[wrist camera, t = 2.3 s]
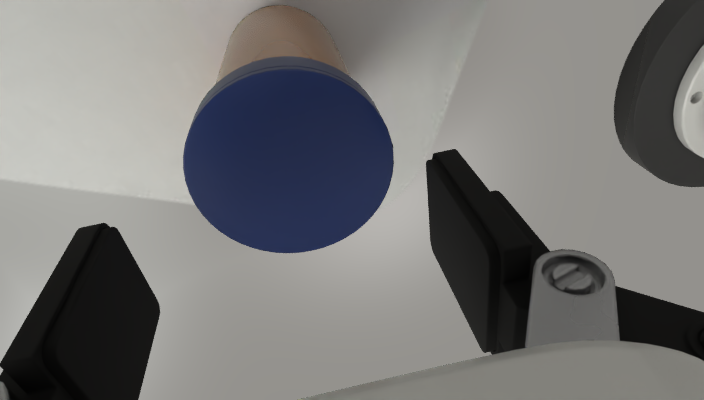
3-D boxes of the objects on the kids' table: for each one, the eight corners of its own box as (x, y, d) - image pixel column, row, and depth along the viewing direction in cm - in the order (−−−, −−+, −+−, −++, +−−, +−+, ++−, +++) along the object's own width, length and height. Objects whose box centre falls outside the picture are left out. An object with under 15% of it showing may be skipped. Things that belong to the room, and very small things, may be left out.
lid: (375, 36, 14) (385, 48, 13) (394, 210, 18) (403, 231, 16) (158, 78, 13) (147, 94, 12) (224, 245, 17) (221, 270, 16)
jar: (327, -5, 23) (370, 58, 13) (345, 105, 26) (389, 220, 16) (210, 16, 23) (166, 97, 13) (243, 125, 26) (228, 254, 16)
